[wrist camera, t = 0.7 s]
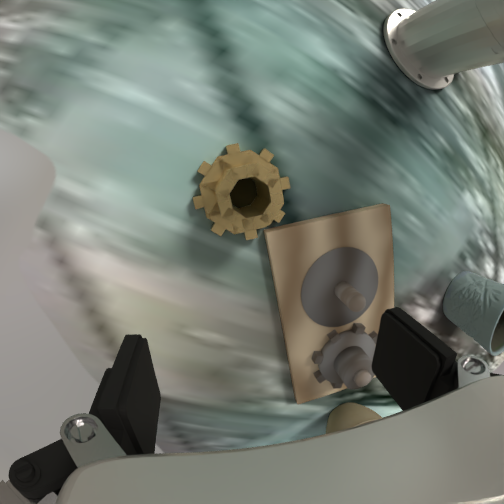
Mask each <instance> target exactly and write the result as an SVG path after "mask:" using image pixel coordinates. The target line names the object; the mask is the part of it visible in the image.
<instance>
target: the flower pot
mask: <svg viewBox="0 0 504 504" xmlns="http://www.w3.org/2000/svg"><path fill="white" fill-rule="evenodd" d="M381 418H382V417H381V416H380V415H379V414H377V413H376V412H374V411H373V410H371V409H369V408H367V407H365V406H362V405H359V404H356V403H344V404H341V405H339V406H338V407H336V408H335V409H334V410H333V411H332V412H331V413H330V415H329V418H328V422H327V427H326V434H328V433H332V432H336V431H340V430H344V429H348V428H351V427H355V426H358V425H362V424H365V423H368V422H372V421H375V420H378V419H381Z"/></svg>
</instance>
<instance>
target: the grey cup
mask: <svg viewBox="0 0 504 504" xmlns="http://www.w3.org/2000/svg"><path fill="white" fill-rule="evenodd" d="M443 312H444V314H445V316H446V317H447V318H448V319H449V320H450V321H451V322H453V323H454V324H455V325H456V326H458V327H460V329H462V330H463V331H464V332H465V333H466V334H467V335H469V336H471V337H473V338H474V340H475V341H476V342H478V343H479V344H480V345H481V346H482V347H483V348H484V349H485V350H487V351H488V352H489V353H490V354H491V355H493V356H497V355H499V354H500V353H502V352H503V351H504V284H501V283H498V282H496V281H493V280H492V279H486V278H485V277H483V276H480V275H478V274H475V273H472V272H469V271H464V272H461V273H460V274H458V275H457V276H456V277H455V278H454V279H453V281H452V282H451V283H450V285H449V287H448V289H447V291H446V293H445V296H444V300H443Z"/></svg>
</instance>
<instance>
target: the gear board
mask: <svg viewBox="0 0 504 504" xmlns="http://www.w3.org/2000/svg"><path fill="white" fill-rule="evenodd" d="M264 235H265V240H266V245H267V250H268V255H269V261H270V266H271V271H272V276H273V281H274V287H275V292H276V297H277V302H278V308H279V313H280V318H281V324H282V329H283V335H284V340H285V345H286V351H287V356H288V362H289V368H290V373H291V379H292V384H293V390H294V396H295V399H296V402H297V404H301V403H304V402H307V401H311V400H314V399H317V398H320V397H323V396H326V395H329V394H332V393H335V392H338V391H341V390H343V389H346V388H349V389H358V388H361V387H363V386H365V385H367V384H368V383H369V382H370V381H371V380H372V379H373V378H374V377H376V376H375V374H374V373H373V371H372V361H373V356H374V351H375V347H376V342H377V337H378V331H379V326H380V320H381V316H382V314H383V313H384V312H385V310H387V309H391V308H394V260H393V239H392V224H391V212H390V205H388V204H378V205H373V206H368V207H364V208H359V209H354V210H350V211H345V212H341V213H336V214H331V215H327V216H322V217H318V218H313V219H309V220H304V221H300V222H295V223H291V224H287V225H282V226H278V227H273V228H269V229H265V230H264Z"/></svg>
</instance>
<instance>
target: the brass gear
mask: <svg viewBox="0 0 504 504" xmlns="http://www.w3.org/2000/svg"><path fill="white" fill-rule="evenodd" d="M226 151H227V155H223V156H219V157H217V158H216V160H215V161H214V163H213V164H212V166H211V165H210V164H208V163H206V162H205V161H204V162H203V163H202V165H201V166H200V168H199V169H198V172H199V173H201V174H202V175H204V176H205V177H204V178H203V180H202V181H201V183H200V185H199V187H200V191H201V195H198V196H194V197H193V201H194V205H195V209H199V208H203V207H204V208H205V213H206V217H207V218H208V219H210V220H212V221H213V222H214V224H213V225H212V227H211V231H213V232H214V233H216V234H218V235H219V236H222V234H223V233H224V231H225V229H227V230H228V231H230V232H231V233H233V234H238V233H243V232H244V235H245V239H246V240H250V239H255V238H258V236H257V231H256V229H260V228H264V227H267V226H269V225H270V224H271V223H272V221H273V220H275V221H277V222H278V223H279V222H280V221H281V219H282V218H283V216H284V215H285V213H284V212H283V211H281V210H280V209H281V207H282V206H283V204H284V198H283V192H282V190H284V189H289V188H290V183H289V178H288V177H279V171H278V168H277V167H275V166H274V165H272V164H271V163H269V162H270V161H271V159H272V158H273V156H274V155H273V154H272V153H270V152H269V151H267V150H266V149H262V150H261V152H260V153H259V155H257V154H256V153H254V152H253V151H251V150H248V151H243V152H240V149H239V145H238V143H237V144H232V145H227V146H226ZM244 178H249V179H251V180H252V181H254V182H255V185H256V190H257V196H256V197H255V199H254V200H253V202H252V203H251V205H248V206H244V207H239V208H237V207H236V206H234V205H233V204H232V203H231V199H230V192H231V190H232V189H233V187H234V186H235V184H236V183H237V181H238V180H240V179H244Z"/></svg>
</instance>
